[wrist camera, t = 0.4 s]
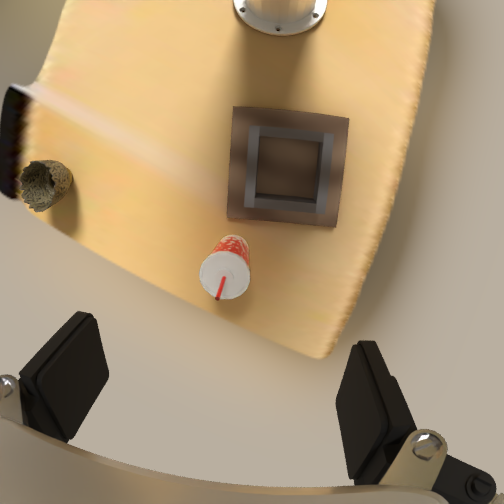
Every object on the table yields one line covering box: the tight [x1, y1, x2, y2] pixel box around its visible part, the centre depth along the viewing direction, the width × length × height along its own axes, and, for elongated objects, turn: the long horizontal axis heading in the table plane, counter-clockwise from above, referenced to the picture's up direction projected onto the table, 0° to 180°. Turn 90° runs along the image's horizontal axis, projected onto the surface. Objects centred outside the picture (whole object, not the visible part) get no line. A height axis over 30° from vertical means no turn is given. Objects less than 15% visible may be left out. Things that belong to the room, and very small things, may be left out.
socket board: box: [227, 106, 349, 227], centre depth 38 cm, size 15×15×4 cm
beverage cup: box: [199, 235, 250, 300], centre depth 38 cm, size 6×6×14 cm
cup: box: [20, 160, 72, 212], centre depth 38 cm, size 8×7×8 cm
